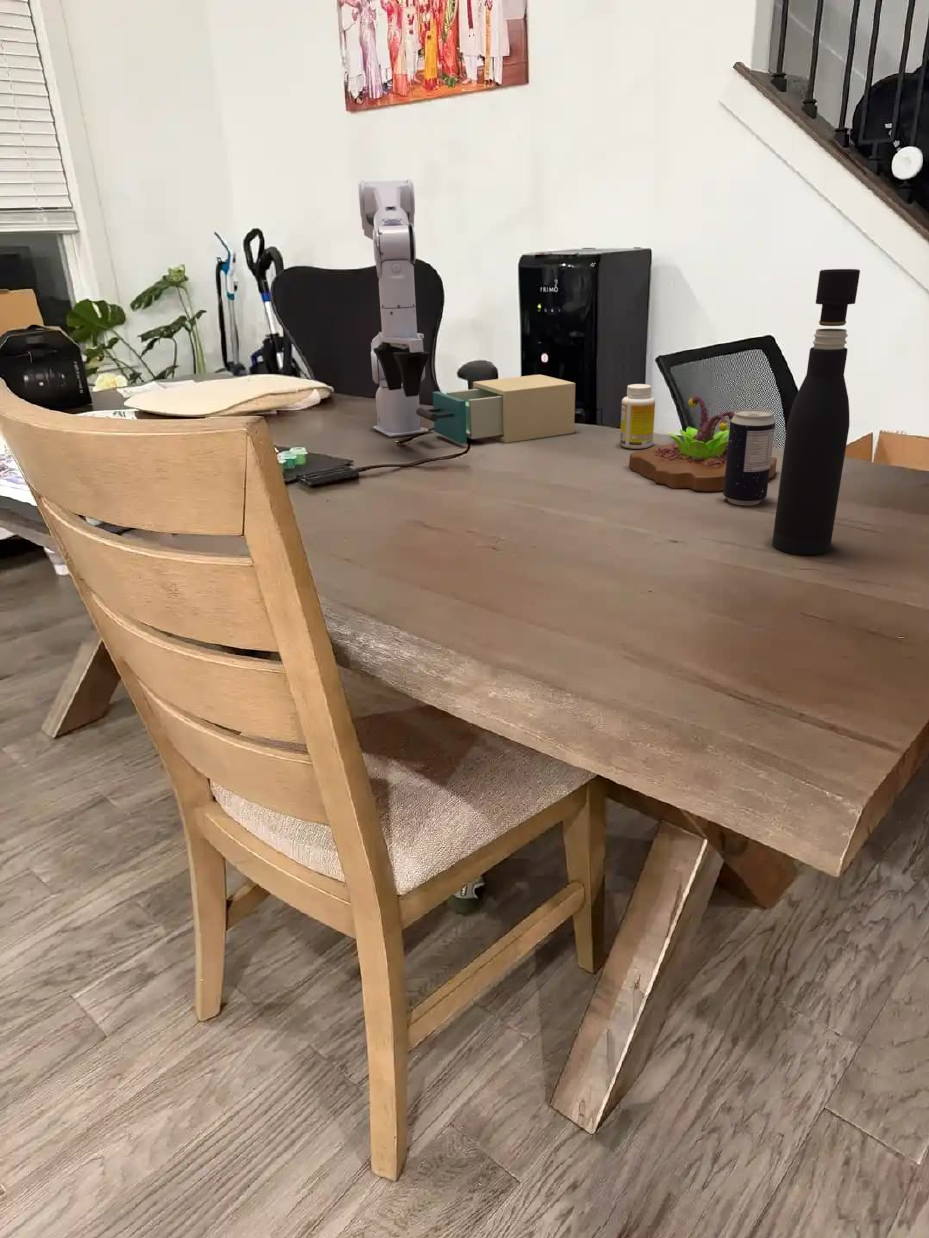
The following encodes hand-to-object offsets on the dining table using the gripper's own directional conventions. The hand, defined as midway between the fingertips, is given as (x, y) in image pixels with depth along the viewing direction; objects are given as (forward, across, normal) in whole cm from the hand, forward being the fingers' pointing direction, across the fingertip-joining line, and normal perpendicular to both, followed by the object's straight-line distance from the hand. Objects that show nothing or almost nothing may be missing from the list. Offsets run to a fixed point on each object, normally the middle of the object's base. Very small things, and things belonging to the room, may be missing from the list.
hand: (403, 392), depth 142 cm
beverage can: (+11, -51, -29) cm, 60 cm away
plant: (+11, -36, -34) cm, 51 cm away
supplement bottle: (+11, -17, -36) cm, 41 cm away
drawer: (+9, +4, -14) cm, 17 cm away
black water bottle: (+11, -68, -22) cm, 72 cm away
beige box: (+10, +4, -26) cm, 28 cm away
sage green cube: (+8, +4, -15) cm, 18 cm away
